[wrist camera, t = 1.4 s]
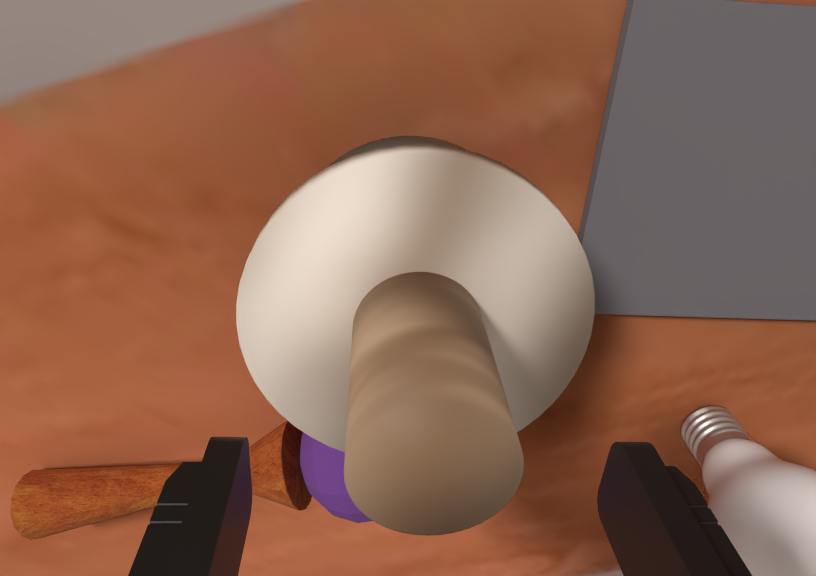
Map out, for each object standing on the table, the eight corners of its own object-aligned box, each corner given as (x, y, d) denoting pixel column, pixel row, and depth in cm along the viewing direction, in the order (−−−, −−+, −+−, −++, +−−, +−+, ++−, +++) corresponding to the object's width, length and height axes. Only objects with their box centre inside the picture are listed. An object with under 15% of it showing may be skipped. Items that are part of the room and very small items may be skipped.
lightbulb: (651, 370, 30) (783, 564, 20) (776, 365, 30) (967, 555, 20) (630, 466, 33) (737, 675, 23) (745, 461, 33) (898, 666, 23)
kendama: (-35, 491, 27) (410, 419, 24) (51, 420, 32) (418, 356, 30) (21, 598, 28) (441, 542, 26) (93, 512, 34) (443, 459, 31)
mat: (964, 16, 23) (978, 17, 22) (831, 314, 29) (839, 321, 28) (628, -7, 22) (634, -6, 21) (563, 306, 28) (567, 313, 27)
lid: (618, 153, 17) (752, 256, 11) (553, 445, 23) (619, 625, 16) (229, 134, 17) (144, 234, 11) (252, 441, 22) (204, 628, 16)
